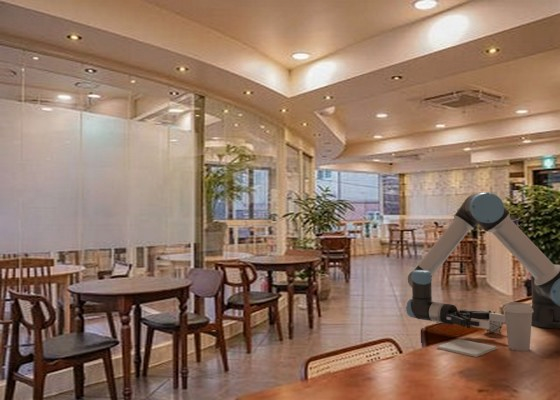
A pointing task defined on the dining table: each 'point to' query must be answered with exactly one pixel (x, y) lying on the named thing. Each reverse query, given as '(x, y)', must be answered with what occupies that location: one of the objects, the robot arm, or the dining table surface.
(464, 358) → the dining table surface
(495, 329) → the game die
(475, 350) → the mat
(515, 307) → the coffee cup
